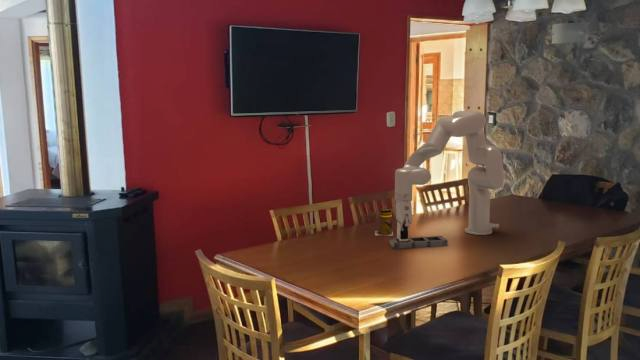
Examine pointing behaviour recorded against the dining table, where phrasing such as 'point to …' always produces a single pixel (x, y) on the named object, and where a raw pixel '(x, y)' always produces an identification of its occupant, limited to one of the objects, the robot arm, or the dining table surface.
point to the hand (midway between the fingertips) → (402, 237)
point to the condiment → (385, 223)
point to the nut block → (400, 232)
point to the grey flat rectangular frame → (419, 242)
